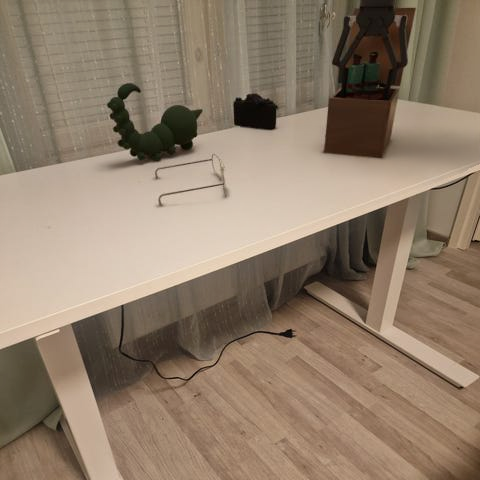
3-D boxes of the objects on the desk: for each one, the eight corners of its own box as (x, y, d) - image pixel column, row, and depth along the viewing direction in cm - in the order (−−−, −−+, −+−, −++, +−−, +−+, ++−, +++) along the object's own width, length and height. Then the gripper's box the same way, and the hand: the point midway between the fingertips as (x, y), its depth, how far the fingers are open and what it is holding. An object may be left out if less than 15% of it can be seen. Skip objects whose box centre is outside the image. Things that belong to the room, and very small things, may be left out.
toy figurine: (136, 176, 105) (217, 145, 115) (114, 92, 92) (206, 66, 103) (119, 167, 111) (197, 138, 121) (95, 86, 98) (185, 62, 109)
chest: (381, 158, 106) (391, 101, 98) (323, 152, 110) (328, 98, 102) (390, 140, 117) (399, 88, 109) (337, 136, 121) (342, 85, 113)
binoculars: (368, 61, 95) (344, 51, 101) (359, 112, 102) (338, 99, 109) (401, 58, 97) (377, 48, 104) (390, 107, 104) (368, 95, 111)
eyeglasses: (231, 198, 89) (230, 174, 86) (159, 206, 87) (155, 182, 83) (218, 172, 101) (217, 150, 98) (155, 178, 99) (152, 156, 96)
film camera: (286, 123, 134) (287, 91, 128) (272, 131, 127) (273, 97, 122) (244, 118, 140) (244, 87, 134) (229, 125, 133) (228, 93, 128)
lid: (415, 7, 101) (415, 8, 102) (354, 8, 106) (354, 9, 106) (399, 86, 108) (400, 86, 109) (342, 83, 113) (343, 83, 113)
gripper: (436, -18, 91) (413, 98, 105) (332, -14, 98) (323, 93, 112) (434, -17, 85) (410, 105, 99) (324, -14, 92) (315, 99, 106)
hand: (364, 99), depth 105 cm, fingers closed on binoculars, 10 cm apart
